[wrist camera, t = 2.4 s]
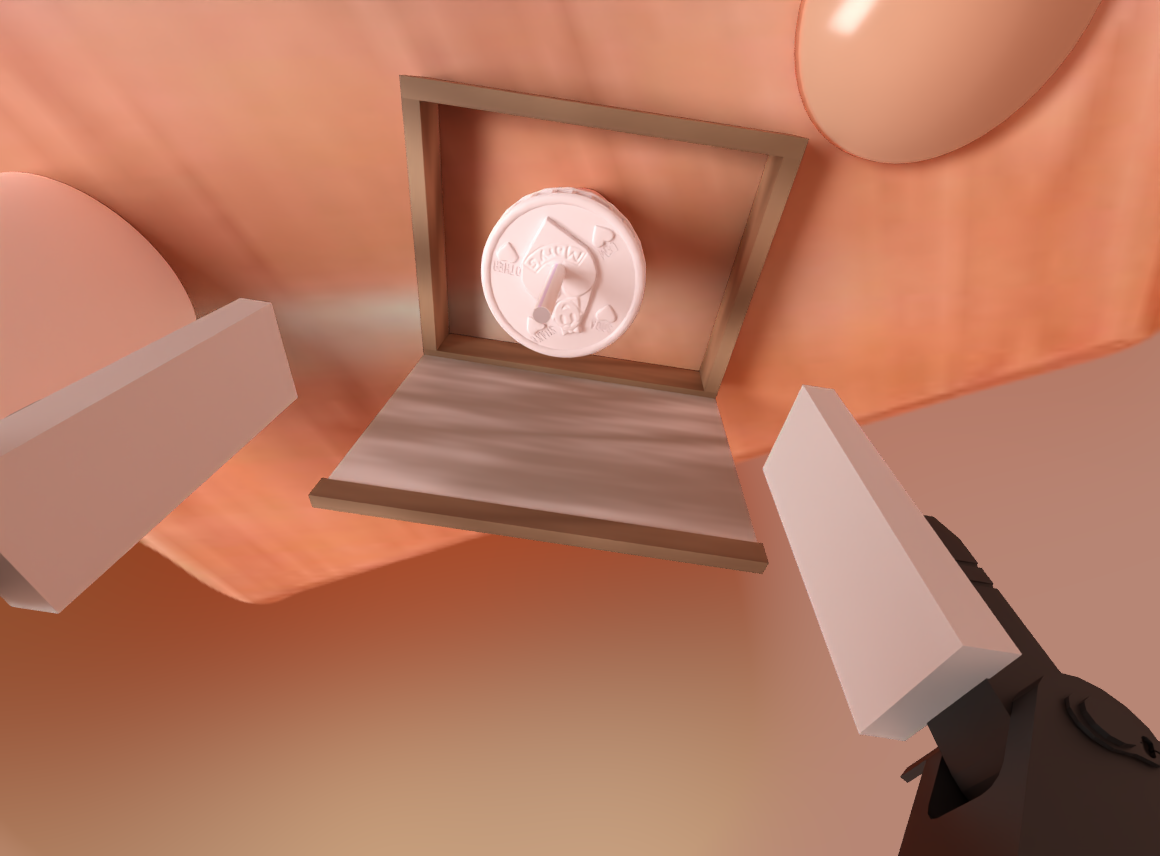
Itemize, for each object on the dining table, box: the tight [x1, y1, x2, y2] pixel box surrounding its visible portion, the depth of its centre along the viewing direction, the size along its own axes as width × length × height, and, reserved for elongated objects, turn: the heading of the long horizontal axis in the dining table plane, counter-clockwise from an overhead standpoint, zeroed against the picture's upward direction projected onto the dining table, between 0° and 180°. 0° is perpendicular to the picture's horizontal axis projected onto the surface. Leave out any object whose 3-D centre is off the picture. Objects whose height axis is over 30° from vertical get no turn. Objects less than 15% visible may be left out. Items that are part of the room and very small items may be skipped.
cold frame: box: [309, 75, 809, 574], centre depth 21 cm, size 16×18×15 cm
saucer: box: [794, 0, 1101, 164], centre depth 19 cm, size 11×11×1 cm
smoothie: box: [481, 187, 646, 358], centre depth 20 cm, size 6×6×14 cm
